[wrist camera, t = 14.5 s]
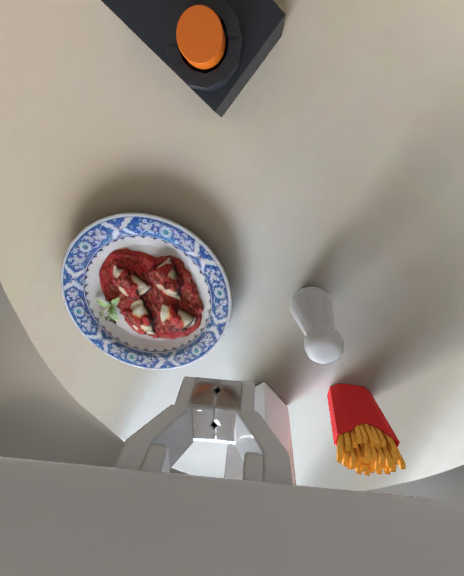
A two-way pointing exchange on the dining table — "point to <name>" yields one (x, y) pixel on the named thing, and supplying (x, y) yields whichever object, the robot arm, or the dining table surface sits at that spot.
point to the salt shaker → (317, 324)
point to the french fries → (362, 431)
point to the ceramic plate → (146, 291)
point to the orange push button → (200, 37)
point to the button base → (238, 41)
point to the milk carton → (275, 419)
